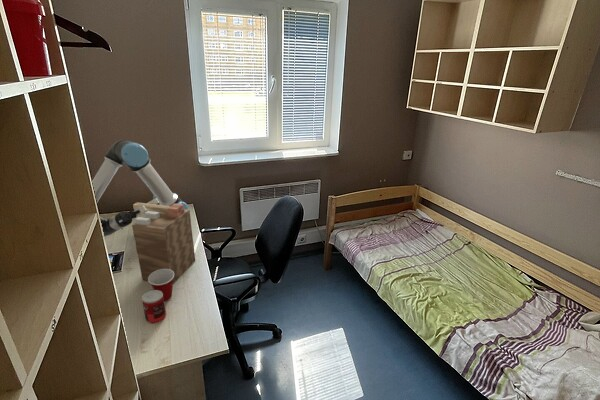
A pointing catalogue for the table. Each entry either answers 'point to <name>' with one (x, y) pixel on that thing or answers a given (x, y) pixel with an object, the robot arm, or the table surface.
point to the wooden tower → (165, 244)
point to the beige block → (162, 208)
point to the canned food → (154, 306)
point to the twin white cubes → (147, 218)
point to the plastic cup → (162, 282)
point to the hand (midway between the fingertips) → (151, 204)
